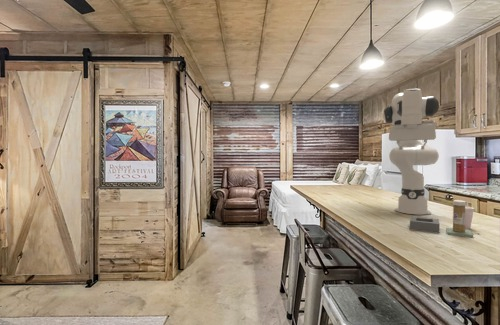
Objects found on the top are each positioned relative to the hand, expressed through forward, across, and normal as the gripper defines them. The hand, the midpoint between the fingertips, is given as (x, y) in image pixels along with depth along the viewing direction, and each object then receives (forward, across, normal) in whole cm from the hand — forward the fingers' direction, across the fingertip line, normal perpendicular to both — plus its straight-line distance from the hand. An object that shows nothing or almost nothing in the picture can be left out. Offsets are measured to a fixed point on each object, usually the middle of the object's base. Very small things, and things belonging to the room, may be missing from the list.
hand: (411, 149), depth 141 cm
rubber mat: (+37, -19, +8) cm, 42 cm away
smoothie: (+37, -23, -5) cm, 44 cm away
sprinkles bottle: (+36, -19, +8) cm, 42 cm away
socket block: (+37, -6, +6) cm, 38 cm away
